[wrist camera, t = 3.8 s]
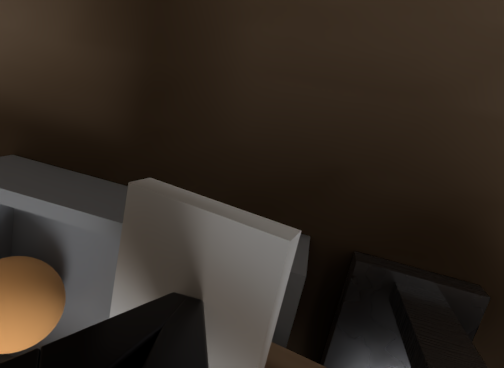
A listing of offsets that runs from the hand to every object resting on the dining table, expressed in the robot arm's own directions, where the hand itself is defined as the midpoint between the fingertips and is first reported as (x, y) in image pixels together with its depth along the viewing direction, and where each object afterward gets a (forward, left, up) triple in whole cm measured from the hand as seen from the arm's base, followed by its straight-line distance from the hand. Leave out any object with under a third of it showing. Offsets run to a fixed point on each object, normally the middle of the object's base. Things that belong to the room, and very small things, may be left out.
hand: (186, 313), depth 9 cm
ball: (-6, +9, -5) cm, 12 cm away
